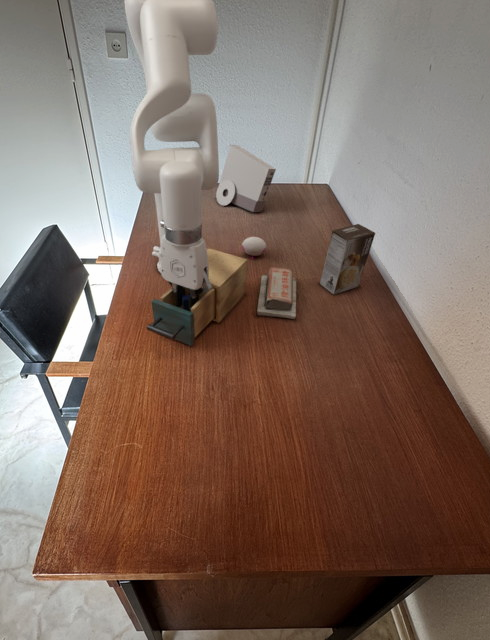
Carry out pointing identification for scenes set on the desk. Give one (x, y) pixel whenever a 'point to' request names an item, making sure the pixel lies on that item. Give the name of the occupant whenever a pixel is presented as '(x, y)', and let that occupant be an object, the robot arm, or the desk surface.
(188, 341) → the drawer
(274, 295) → the packaged product
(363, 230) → the coffee box
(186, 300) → the eraser
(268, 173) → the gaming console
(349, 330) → the desk surface
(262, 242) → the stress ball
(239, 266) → the cabinet
